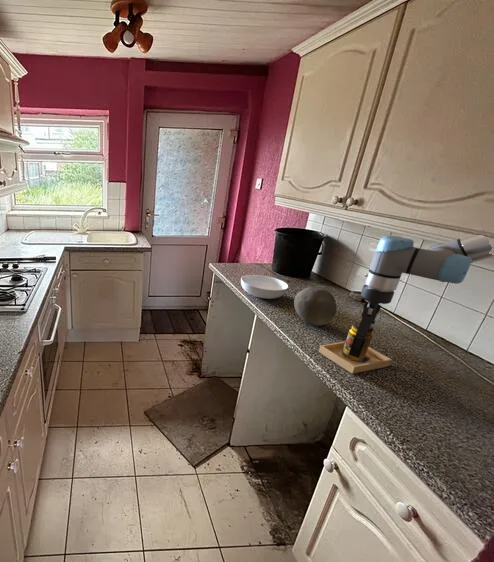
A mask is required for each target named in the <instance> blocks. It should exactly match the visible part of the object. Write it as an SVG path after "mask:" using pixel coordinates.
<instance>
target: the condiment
mask: <svg viewBox="0 0 494 562" xmlns="http://www.w3.org/2000/svg"><path fill="white" fill-rule="evenodd" d="M360 323H361V321H355V322H353V324H352V326H351V329H349V330H348V334H347V337H346V339H345V341H346V342H345V341H344V342H345V345H344V348H343V350H342V351H341V352H339V353H338V354H337V355H339V356H341V357H343V358H345V359H347V360H350V361H352V362H354V363H357V364H359V365H361V364H364V363H366V362H367V361H368V360H369V359H371V358H372V357H370V356H367V355H366V352H367V350H368V347H370V344H371V342H372V339H373V331H374V326H372V325H370V328H369V331H368V333H367V336H366V340H365V343H364V346H363V348H362V351H361V354H360V356H359V358H357V357H354V356H351V355H348V354H349V352H350V349H351V346H352V343H353V340H354V338H355V337H352V335H353V334H354V335H356V333H357V331H358V328H359V325H360Z"/></svg>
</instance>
